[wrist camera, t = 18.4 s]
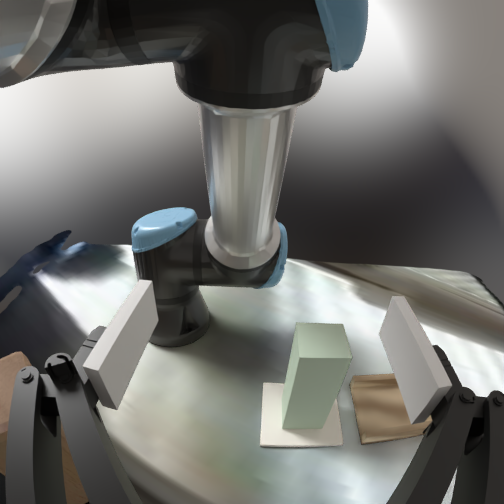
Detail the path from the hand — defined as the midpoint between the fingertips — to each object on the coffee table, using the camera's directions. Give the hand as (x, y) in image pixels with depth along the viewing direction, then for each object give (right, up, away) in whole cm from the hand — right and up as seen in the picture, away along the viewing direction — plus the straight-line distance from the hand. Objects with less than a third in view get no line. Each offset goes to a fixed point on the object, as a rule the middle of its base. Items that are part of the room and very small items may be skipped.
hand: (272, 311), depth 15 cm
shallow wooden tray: (+21, -23, +24) cm, 39 cm away
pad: (+6, -22, +24) cm, 33 cm away
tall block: (+6, -21, +24) cm, 33 cm away
